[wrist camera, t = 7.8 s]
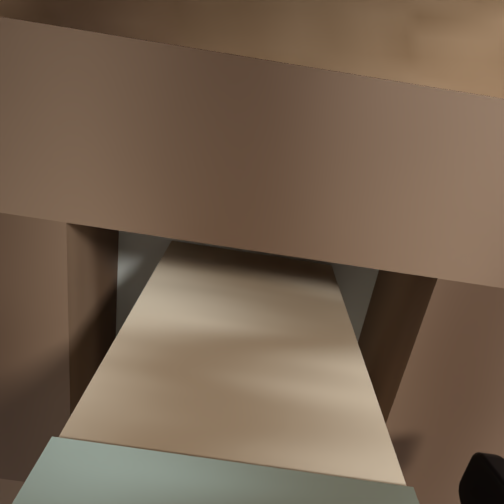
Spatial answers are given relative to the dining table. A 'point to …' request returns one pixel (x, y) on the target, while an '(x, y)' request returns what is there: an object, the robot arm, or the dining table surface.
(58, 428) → the socket block
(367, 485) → the peg
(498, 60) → the dining table surface
